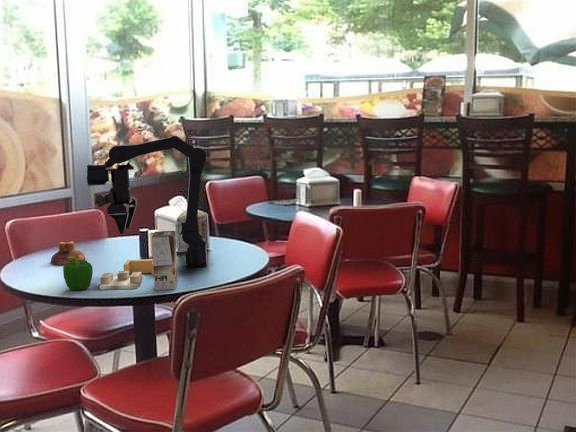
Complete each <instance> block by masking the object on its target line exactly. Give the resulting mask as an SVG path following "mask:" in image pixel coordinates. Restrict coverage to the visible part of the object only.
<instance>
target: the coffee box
mask: <svg viewBox="0 0 576 432" xmlns="http://www.w3.org/2000/svg"><path fill="white" fill-rule="evenodd" d="M151 242H152V243H151V244H152V259H153V268H154V276H153V282H154V283H153V285H154V290H155V291H163V290H164V291H165V290H175V289H176V288H177V286H178V283H179V279H178V277H179V276H178V275H179V274H178V257H177V255H178V254H177V235H176V230H161V231H154V233H153V234H152V236H151Z"/></svg>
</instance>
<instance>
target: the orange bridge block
mask: <svg viewBox="0 0 576 432" xmlns="http://www.w3.org/2000/svg"><path fill="white" fill-rule="evenodd" d="M122 267H123V271H129V275H131V274H132V273H133V272H142V274H143V273H144V274H147V273H148V274H149V273H151V276H152V277H154V268H153V258H149V259H148V258H147V259H146V258H145V259H127V260H126V261H124V264H123V265H122Z"/></svg>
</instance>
